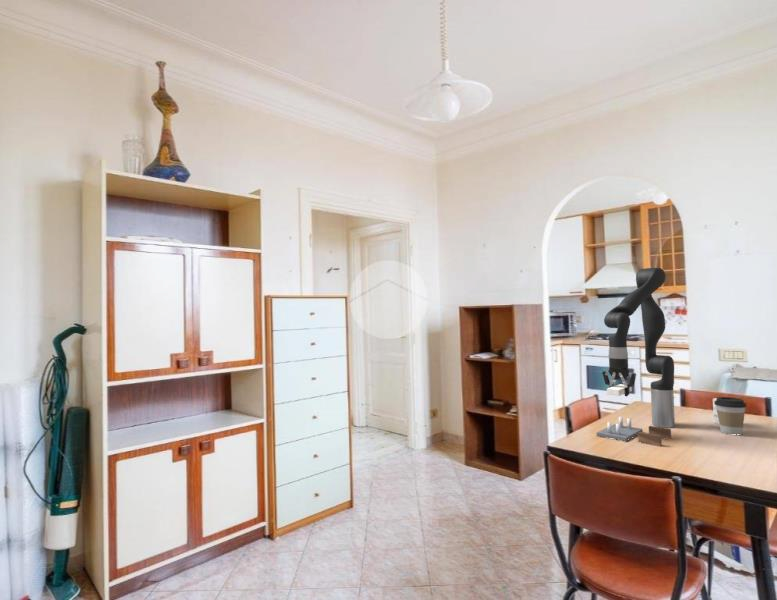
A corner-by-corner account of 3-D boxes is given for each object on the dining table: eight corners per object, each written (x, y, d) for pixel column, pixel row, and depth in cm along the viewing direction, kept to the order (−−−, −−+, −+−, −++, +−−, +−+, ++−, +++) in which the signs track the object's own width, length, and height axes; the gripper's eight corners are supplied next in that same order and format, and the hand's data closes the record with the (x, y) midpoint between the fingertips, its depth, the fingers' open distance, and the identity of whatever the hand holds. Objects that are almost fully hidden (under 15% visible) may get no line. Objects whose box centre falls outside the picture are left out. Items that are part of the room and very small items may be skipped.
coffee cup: (736, 429, 197) (734, 396, 198) (754, 436, 186) (753, 401, 187) (709, 429, 199) (708, 396, 199) (726, 436, 187) (724, 401, 188)
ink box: (737, 427, 202) (736, 401, 202) (726, 427, 202) (725, 401, 202) (723, 422, 210) (722, 397, 211) (713, 422, 210) (712, 398, 211)
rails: (650, 434, 192) (650, 425, 192) (671, 438, 186) (670, 429, 187) (638, 442, 182) (638, 432, 182) (660, 446, 176) (659, 436, 176)
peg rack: (614, 427, 206) (614, 414, 206) (642, 432, 197) (641, 418, 197) (596, 436, 192) (596, 422, 193) (625, 441, 184) (625, 427, 184)
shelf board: (620, 389, 202) (620, 384, 202) (631, 390, 198) (631, 385, 198) (606, 394, 191) (606, 388, 191) (618, 395, 187) (618, 390, 187)
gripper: (638, 357, 193) (640, 396, 192) (604, 355, 203) (606, 392, 203) (632, 358, 187) (634, 398, 187) (598, 356, 198) (599, 394, 197)
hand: (619, 395), depth 195 cm, fingers closed on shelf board, 5 cm apart
